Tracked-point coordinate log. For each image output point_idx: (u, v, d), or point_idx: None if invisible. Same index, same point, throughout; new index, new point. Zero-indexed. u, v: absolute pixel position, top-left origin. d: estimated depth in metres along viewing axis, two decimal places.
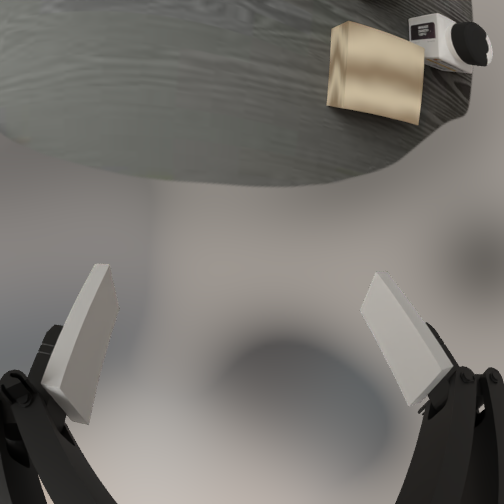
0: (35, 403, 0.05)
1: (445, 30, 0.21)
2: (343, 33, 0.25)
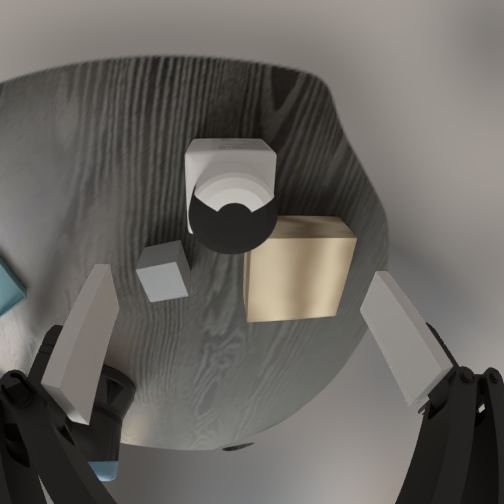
0: (35, 403, 0.05)
1: None
2: None
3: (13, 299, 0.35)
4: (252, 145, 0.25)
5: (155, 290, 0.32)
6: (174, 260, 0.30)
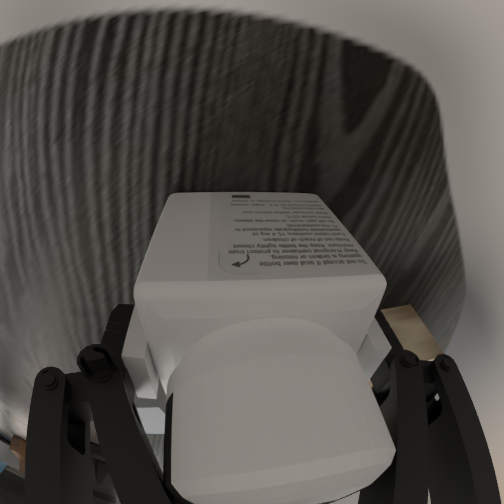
0: (114, 380, 0.07)
1: None
2: None
3: None
4: (314, 234, 0.10)
5: None
6: (155, 404, 0.16)
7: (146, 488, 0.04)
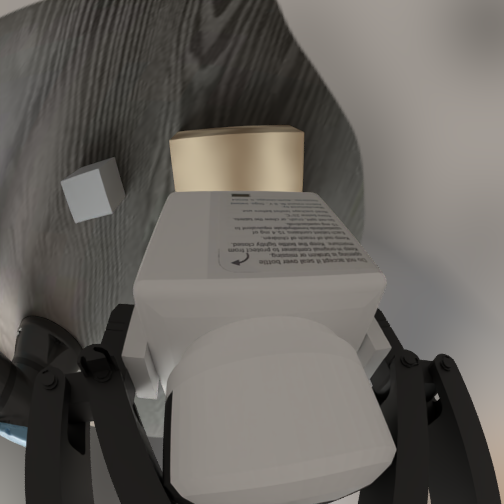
0: (115, 380, 0.07)
1: None
2: None
3: None
4: (314, 232, 0.10)
5: (78, 206, 0.25)
6: (97, 168, 0.24)
7: (146, 488, 0.04)
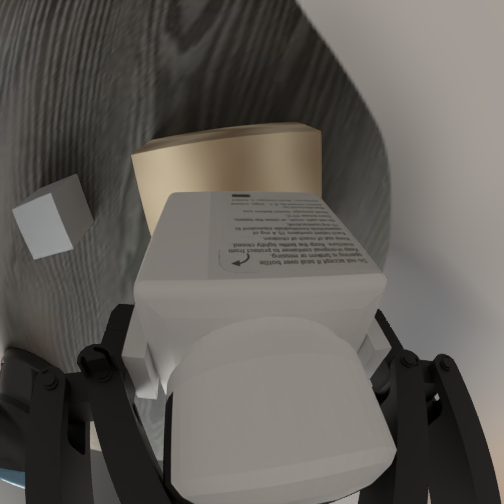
0: (114, 380, 0.07)
1: None
2: None
3: None
4: (314, 233, 0.10)
5: (35, 239, 0.18)
6: (50, 192, 0.17)
7: (146, 488, 0.04)
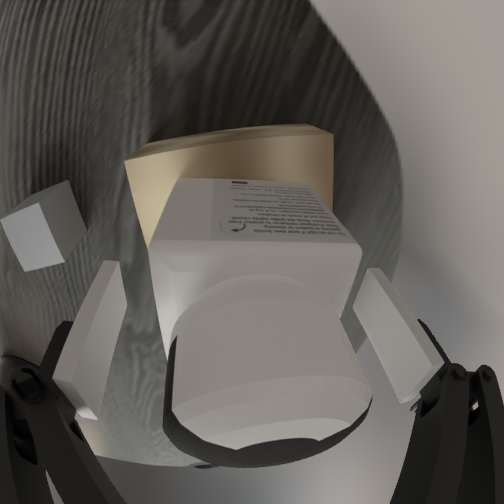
0: (46, 399, 0.06)
1: None
2: None
3: None
4: (301, 212, 0.12)
5: (24, 251, 0.17)
6: (38, 201, 0.15)
7: (92, 502, 0.04)
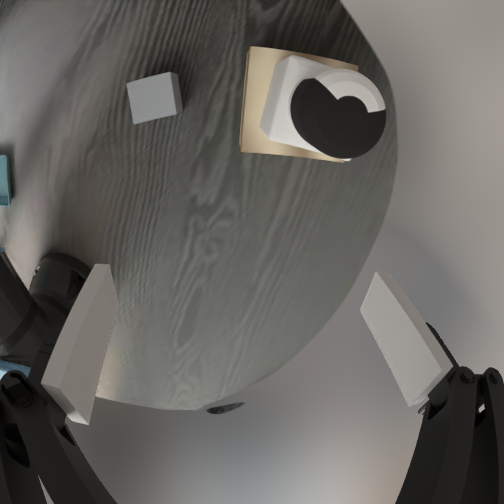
0: (35, 403, 0.05)
1: None
2: None
3: None
4: None
5: (141, 107, 0.26)
6: (168, 72, 0.24)
7: None
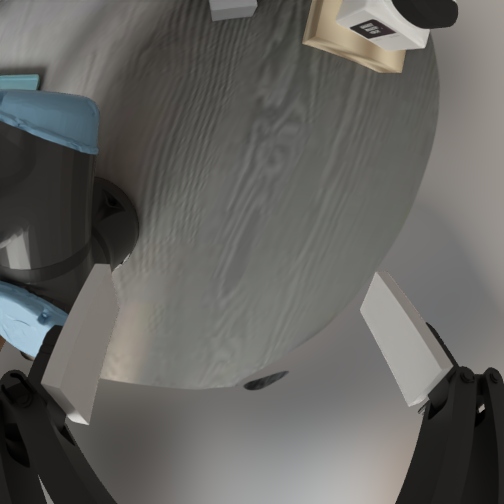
0: (35, 403, 0.05)
1: (392, 15, 0.16)
2: (323, 42, 0.25)
3: None
4: None
5: None
6: None
7: None
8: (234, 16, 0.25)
